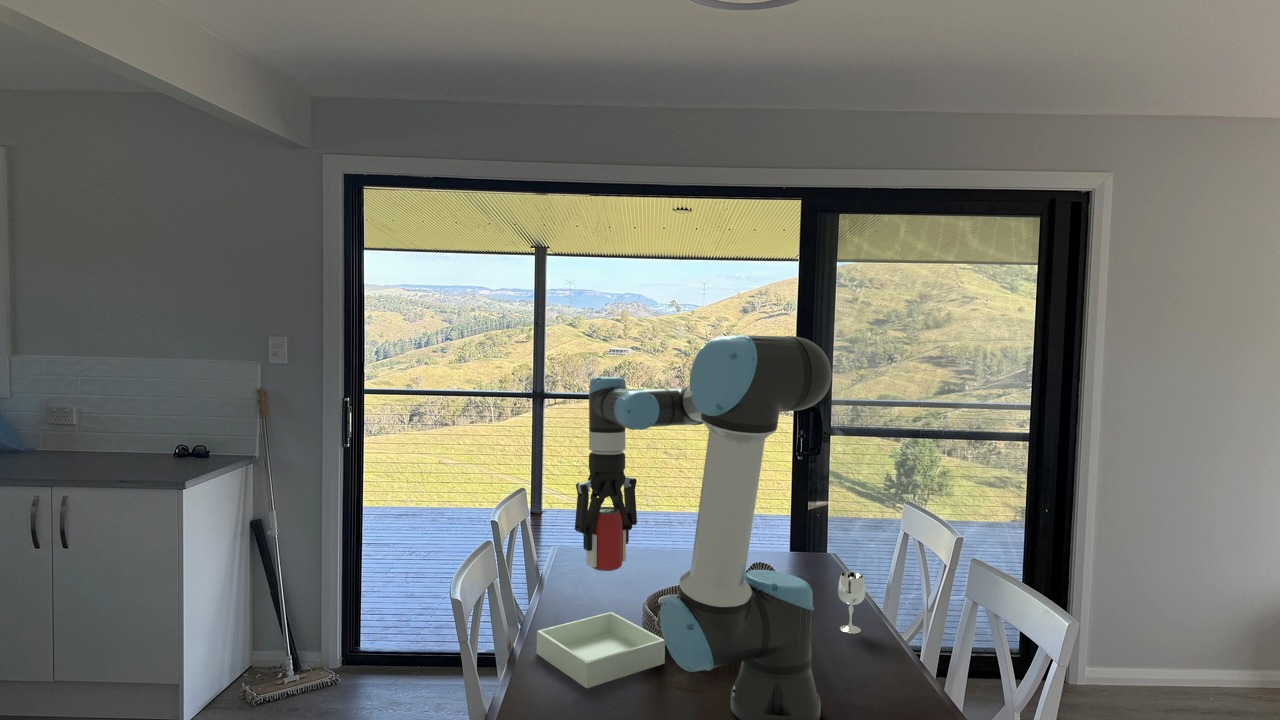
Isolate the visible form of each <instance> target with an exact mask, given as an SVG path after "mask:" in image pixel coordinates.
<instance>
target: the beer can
mask: <svg viewBox="0 0 1280 720" xmlns="http://www.w3.org/2000/svg"><path fill="white" fill-rule="evenodd" d="M593 534H595V535H597V567H594V568H593V567H591V568H592V569H593V570H596V571H600V572H612V571H617V570H619V569H620V568H621V567H622V565H623V562H622V516H621V514H620V509H618V508H615V507H614V506H601V508H600V512H599V515H598V519H597V522H596V526H595V529H594V533H593Z"/></svg>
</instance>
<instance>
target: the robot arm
mask: <svg viewBox="0 0 1280 720" xmlns="http://www.w3.org/2000/svg"><path fill="white" fill-rule="evenodd" d="M831 382H832V367H831V363H830V360H829V358H828V356H827V354H826V353H825V352H824V350H823V349H822V348H821V347H820V346H818V345H817V344H816V343H815V342H813V341H811V340H809V339H807V338H803V337H800V336H794V335H793V336H792V335H786V336H785V335H784V336H783V335H782V336H780V335H779V336H777V335H775V336H774V335H753V334H752V335H751V334H749V335H748V334H747V335H745V334H737V333H736V334H733V335H724V336H723V335H722V336H717V337H714V338H712V339H709V340H708V341H707V342H706V344H705V345H703V346H702V347H701V348H700V349H699V351H698V352H697V354H696V355H695V358H694V360H693V363H692V365H691V369H690V375H689V385H688V386H685V387H674V388H673V387H672V388H627V384H626V379H625V378H623V377H621V376H595V377H592V378H591V379H590V381H589V391H588V420H589V421H588V428H589V429H588V436H589V437H588V449H589V450H590V451H591V452H589V454H588V470H589V476H588V478H587V481H584V482H577V483H576V484H575V487H576V488H575V489H576V492H577V493H576V494H577V498H576V510H575V522H574V530H575V532H578V533H580V534H583V547H582V548H583V550H585V551H586V562H585V563H586V565H587V566H589V567H591V568H592V567H593V568H594V567H597V535H595V534H593V533H594V529H595V526H596V522H597V519H598V515H599V512H600V508H601V507H602V505H603V503H604V502H605V500H606V499H607V498H610V499H611V500H610V501H611V503H612V507H615V508H618V509H620V514H621V516H622V563H624V562H626V561H627V545H628V544H629V541H630V539H629V537H630V536H629V535H630V532H629V531H631V530H632V529H633V526H636V525H637V524H638V516H637V515H638V514H637V500H636V487H637V478H634V477H631V476H626V475H625V472H624V471H625V469H626V454H625V452H624V451H625V450H626V447H627V446H626V429H628V430H632V431H635V430H639V431H641V430H642V431H643V430H647V429H649V428H655V427H657V428H659V427H669V426H700V425H704V426H705V427H706V428H707V430H708V437H707V444H706V445H707V446H706V452H705V453H706V454H705V460H704V467H703V474H702V481H701V482H702V483H701V489H700V497H699V505H698V512H697V519H696V528H695V535H694V542H693V550H692V556H691V557H692V558H691V564H690V565H691V566H690V570H688V571H686V572H684V573H683V574H682V575H681V576H680V579H679V583H678V591H677V595H676V596H673V595H672V596H669V597H668V598H666V599H665V600H664V601H663V602H662V604H661V607H660V612H659V619H660V620H659V621H660V628H661V634H662V637H663V639H664V640H665V647H666V648H667V650H668V652H669V654H670V656H671V658H672V659H673V661H674V662H675V663H676V664H677V665H678V666H679V667H680V668H682V670H685V671H687V672H690V673H691V672H692V673H693V672H694V673H695V672H699V671H707V672H708V671H711V670H713V669H715V668H719V667H724V666H727V665H732V664H736V663H740V666H739V670H738V672H737V674H736V678H735V682H734V685H733V686H732V689H731V692H730V710H731V712H732V713H733V714H734V716H735V717H736V718H737V719H738V720H820V718H821V710H822V709H821V707H822V705H821V703H822V702H821V698H820V695H819V693H818V692H817V688H816V682H815V679H814V675H813V670H812V649H813V648H812V647H813V644H812V643H813V621H814V611H815V607H814V600H813V596H814V595H813V589H812V587H811V585H810V584H809V583H808V582H807V581H806V580H804V579H802V578H800V577H798V576H795V575H793V574H789V573H787V572H786V573H785V572H780V571H776V570H769V569H751V570H748V571H746V570H747V562H748V558H749V557H748V556H749V555H748V554H749V551H750V550H749V549H750V544H751V543H750V542H751V537H752V536H751V535H752V529H753V523H754V516H755V515H754V514H755V509H756V503H757V496H758V490H759V483H760V475H761V470H762V463H763V462H762V461H763V456H764V449H765V443H766V439H768V437H771V435H773V434H774V433H775V432H777V430H778V424H779V418H780V412H781V413H782V412H794V411H801V410H805V409H808V408H810V407H813V406H815V405H816V404H817V403H819V402H820V401H821V400H822V399H823V398H824V397H825V396H826V394H827V392H828V391H829V389H830V386H831ZM622 487H623V492H622ZM590 489H591V490H590ZM590 492H591V494H590V495H589V493H590ZM589 501H590V502H589ZM593 568H592V569H593Z"/></svg>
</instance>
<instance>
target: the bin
mask: <svg viewBox="0 0 1280 720" xmlns="http://www.w3.org/2000/svg"><path fill="white" fill-rule="evenodd" d="M665 652H666V643H665V640H664V638H662V637H660V636H659V635H656V634H655V633H652V632H650V631H649V630H646V629H645V628H644V627H641V626H639V625H637V624H635V623H634V622H632V621H630V620H627V619H626V618H624V617H622V616H620V615H618V614H616V613H615V612H612V611H609V612H605V613H602V614H597V615H595V616H590V617H584V618H583V619H577V620H573V621H571V622H570V621H569V622H566V623H563V624H557V625H554V626H551V627H546V628H543V629H539V630H536V655H538V656H539V657H541V658H542V659H543V660H545V661H546V662H548V663H549V664H551V665H552V666H554V667H555V668H556V669H558V670H559V671H561V672H562V673H564V674H565V675H567V676H568V677H569V678H571V679H572V680H574V681H576V682H577V683H578V684H579V685H581V686H582V687H584V688H586V689H589V688H593V687H597V686H600V685H602V684H604V683H608V682H611V681H614V680H619V679H621V678H624V677H627V676H629V675H633V674H637V673H641V672H642V671H646V670H649V669H652V668H655V667H658V666H661V665H663V664H665V661H666V659H665V657H666V654H665Z"/></svg>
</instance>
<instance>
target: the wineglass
mask: <svg viewBox="0 0 1280 720" xmlns="http://www.w3.org/2000/svg"><path fill="white" fill-rule="evenodd" d="M865 584H866V583H865V579H864V575H863V574H861V573H858V572H853V571H845V572H841V574H840V576H839V580H838V584H837V593H838V595H837V596H838V597H839V599H840V601H842V602H843V603H844V604H846V605H849V606H848V612H849V622H848V624H847V625H846V624H845V625H841V626H840V627H839V630H840V631H841V632H843V633H846V634H853V635H855V634H859V633H861V632H862V630H861V628H860V627H858V626H855V625H853V622H852V621H853V613H854V607H853V606H855V605H856V606H857V605H859V604H861V603H862V602H863V601H864V600H865V596H866V585H865Z"/></svg>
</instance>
